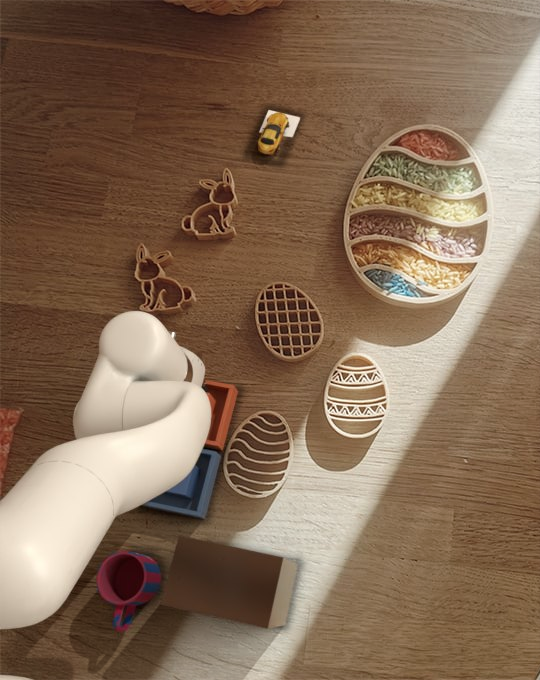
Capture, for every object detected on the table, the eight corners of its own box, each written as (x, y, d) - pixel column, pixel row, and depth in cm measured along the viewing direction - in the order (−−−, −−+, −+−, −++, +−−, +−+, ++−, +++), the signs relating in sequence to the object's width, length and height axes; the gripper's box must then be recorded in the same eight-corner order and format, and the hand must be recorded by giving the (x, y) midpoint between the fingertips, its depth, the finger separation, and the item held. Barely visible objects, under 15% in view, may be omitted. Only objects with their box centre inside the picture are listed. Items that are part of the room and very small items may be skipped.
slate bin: (205, 519, 104) (199, 516, 101) (144, 506, 105) (136, 503, 102) (221, 456, 107) (216, 451, 104) (162, 444, 108) (155, 439, 105)
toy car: (293, 119, 126) (291, 111, 124) (276, 160, 124) (274, 152, 121) (271, 114, 127) (269, 105, 125) (254, 154, 124) (251, 146, 122)
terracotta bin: (223, 451, 107) (217, 446, 104) (163, 439, 108) (156, 434, 105) (238, 391, 110) (233, 385, 107) (180, 381, 111) (174, 374, 108)
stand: (285, 625, 99) (267, 628, 84) (193, 604, 100) (160, 604, 85) (298, 564, 101) (283, 557, 86) (208, 545, 103) (178, 535, 88)
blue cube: (192, 499, 105) (185, 495, 100) (163, 493, 105) (154, 489, 101) (200, 469, 106) (193, 463, 102) (172, 463, 107) (163, 457, 102)
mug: (167, 559, 103) (152, 555, 96) (148, 634, 99) (132, 636, 93) (121, 550, 103) (104, 547, 97) (102, 625, 100) (82, 626, 94)
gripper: (151, 306, 93) (187, 353, 110) (111, 433, 87) (156, 463, 104) (208, 315, 92) (235, 362, 109) (171, 445, 86) (206, 473, 103)
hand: (196, 411), depth 106 cm, fingers closed on terracotta block, 4 cm apart
